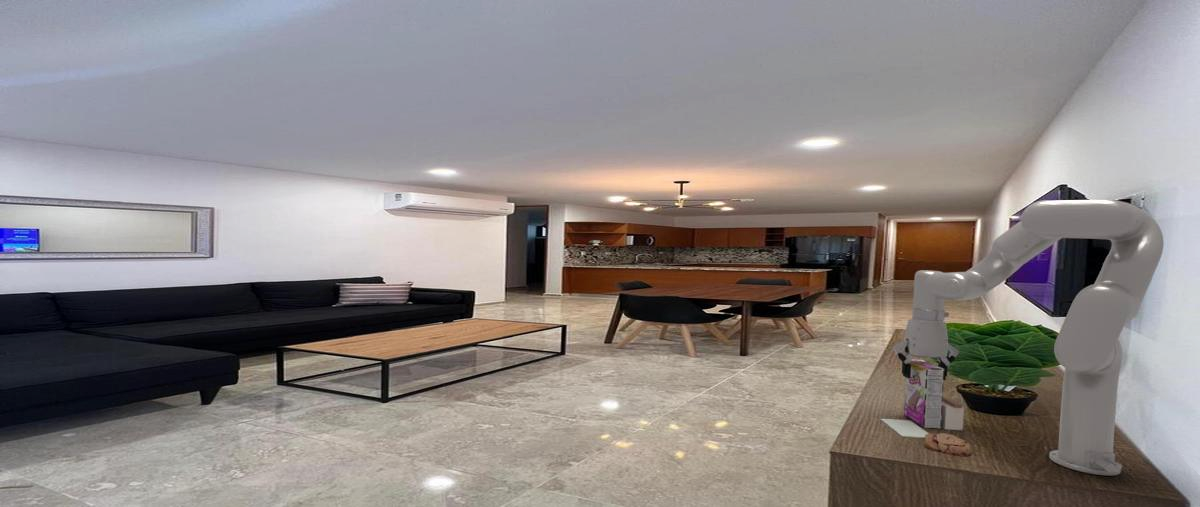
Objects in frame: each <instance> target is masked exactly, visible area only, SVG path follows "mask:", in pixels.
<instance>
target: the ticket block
mask: <svg viewBox="0 0 1200 507" xmlns="http://www.w3.org/2000/svg"><path fill="white" fill-rule="evenodd" d="M964 411H965V408H964V407H963V404H962V403H960V402H958V401H957V400H954V399H952V398H951V397H949V396H947V395H945V394H943V403H942V420H941V429H944V430H949V431H950V430H952V431H954V430H955V431H963V429H964V415H965V414H964Z"/></svg>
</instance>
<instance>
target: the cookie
mask: <svg viewBox="0 0 1200 507" xmlns="http://www.w3.org/2000/svg"><path fill="white" fill-rule="evenodd" d="M927 433H928V434H926V435H925V438H923V440H924V441H923V442H924V446H925V447H926V449H927V448H928V449H929V450H931V451H937V452H940V453H942V454H945V455H949V456H952V455H953V456H957V457H958V456H959V457H969V456H970V455H972V453H973V452H972V450H973V448H972V447H971V445H970V443H969V442H967V440H965V439H962V438H959V437H958V436H956V435H954V434H950V433H944V432H940V433H937V434H936V435H935V434H934V433H933V432H927Z"/></svg>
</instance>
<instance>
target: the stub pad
mask: <svg viewBox="0 0 1200 507" xmlns="http://www.w3.org/2000/svg"><path fill="white" fill-rule="evenodd" d="M879 420H880V421H881V422H883V424H885V425H887V427H889V428H890V429H891V430H893V431H894V432H895V433H897V434H898V435H899V436H900V437H902V438H912V439H913V438H915V439H925V435H926V434H928V433H929V432H927V431H926V430H925V429H923V427H921V426H920V425H918V424H917V423H915V422H914V421H912V420H911V419H909V420H908V419H906V420H905V419H891V418H880V419H879Z"/></svg>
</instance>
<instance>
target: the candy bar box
mask: <svg viewBox="0 0 1200 507" xmlns="http://www.w3.org/2000/svg"><path fill="white" fill-rule="evenodd" d="M909 364H911V377H910V378H906V377H905V390H904V405H903V406H904V407H903V408H904V409H903V416H905V417H906V418H907V419H909V420H910V421H912V422H913V423H915V424H916V425H918V426H919V427H921V428H922V429H923V428H924V429H932V430H933V429H934V430H937V429H939V430H941V429H942V428H941V420H942V403H943V395H944V382H945V380H944V369H943V368H941V367H938V365H936V364H933V363H931V362H929V361H927V360H925V359H914V358H913V359H912V360H911V361H910V362H909Z"/></svg>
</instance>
